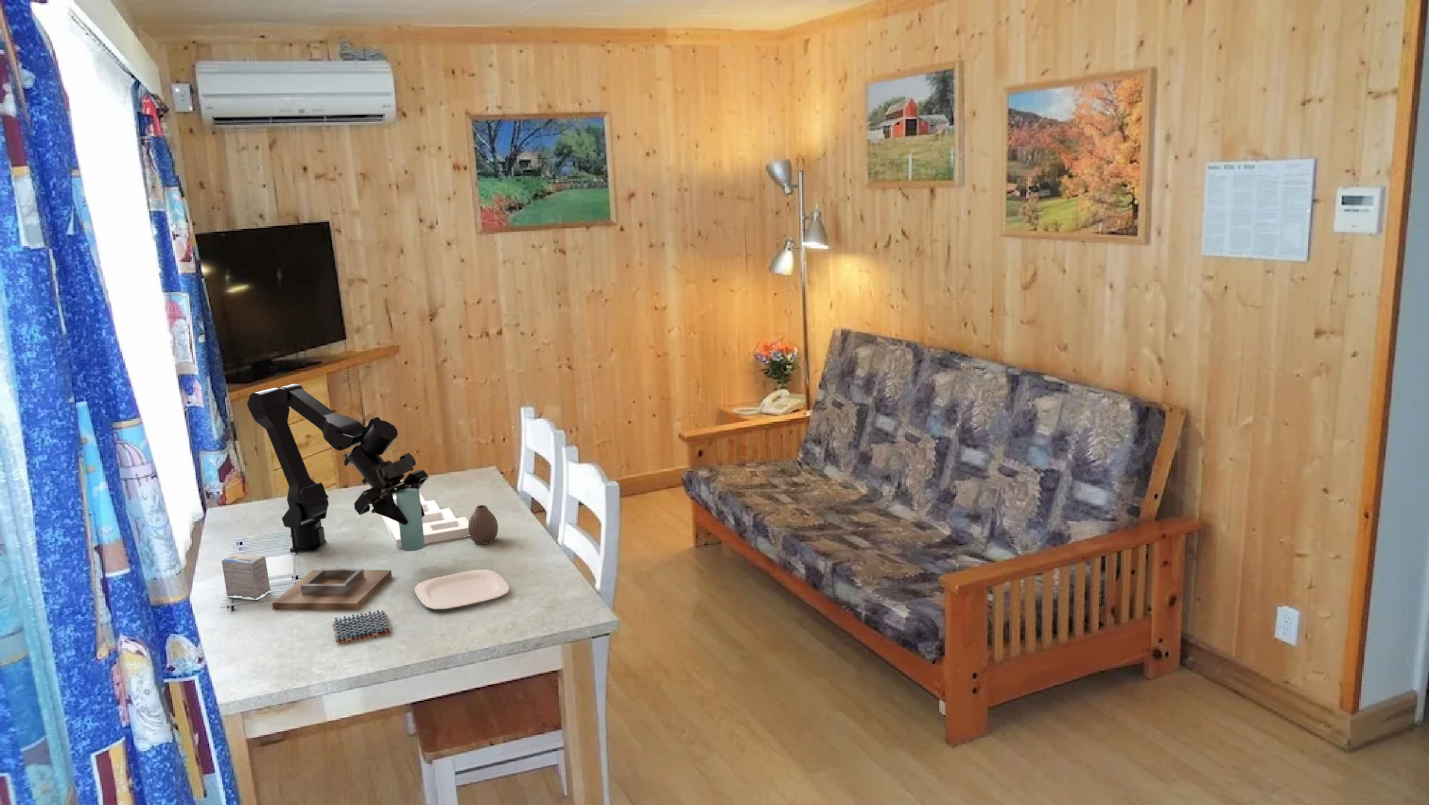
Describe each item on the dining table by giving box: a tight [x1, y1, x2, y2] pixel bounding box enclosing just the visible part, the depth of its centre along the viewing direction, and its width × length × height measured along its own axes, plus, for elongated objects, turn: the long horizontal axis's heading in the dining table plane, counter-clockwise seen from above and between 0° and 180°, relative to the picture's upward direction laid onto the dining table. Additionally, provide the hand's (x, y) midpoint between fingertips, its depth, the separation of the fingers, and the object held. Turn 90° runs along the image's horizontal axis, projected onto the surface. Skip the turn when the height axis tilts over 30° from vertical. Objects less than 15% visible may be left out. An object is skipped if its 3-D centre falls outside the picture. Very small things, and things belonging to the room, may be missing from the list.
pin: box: [396, 489, 426, 552], centre depth 235 cm, size 5×5×13 cm
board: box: [271, 568, 393, 611], centre depth 224 cm, size 18×18×4 cm
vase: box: [468, 504, 499, 545], centre depth 251 cm, size 7×7×9 cm
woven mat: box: [332, 609, 393, 646], centre depth 205 cm, size 10×11×2 cm
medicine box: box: [221, 553, 272, 599], centre depth 223 cm, size 8×4×9 cm, turn 71°
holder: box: [381, 493, 469, 549], centre depth 272 cm, size 45×18×3 cm, turn 24°
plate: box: [414, 569, 511, 611], centre depth 221 cm, size 18×18×2 cm
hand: (415, 520), depth 234 cm, fingers closed on pin, 5 cm apart
